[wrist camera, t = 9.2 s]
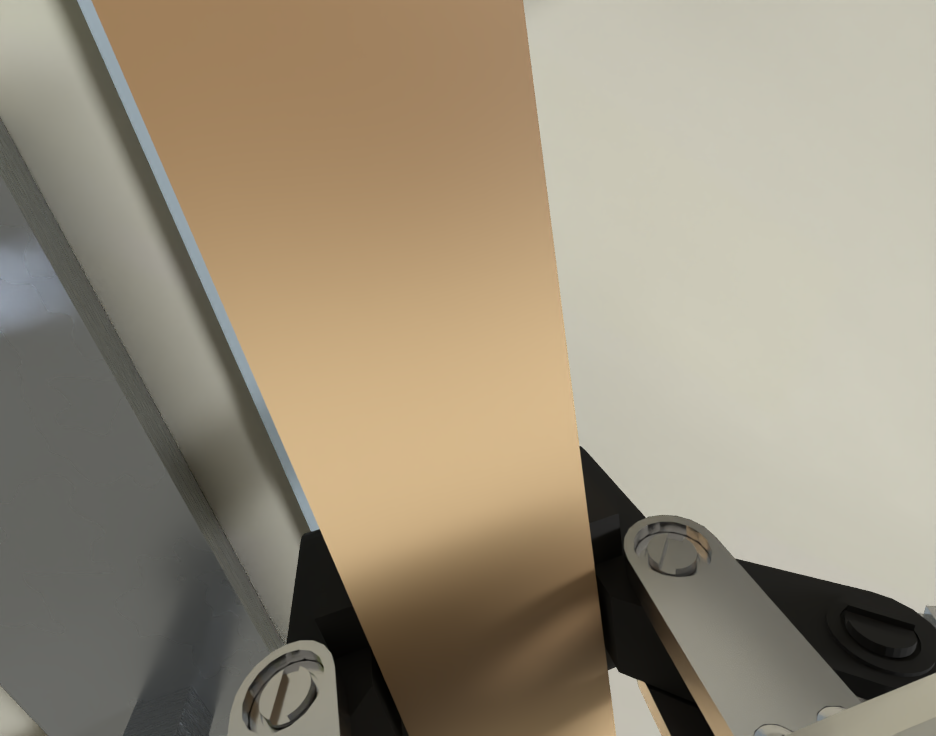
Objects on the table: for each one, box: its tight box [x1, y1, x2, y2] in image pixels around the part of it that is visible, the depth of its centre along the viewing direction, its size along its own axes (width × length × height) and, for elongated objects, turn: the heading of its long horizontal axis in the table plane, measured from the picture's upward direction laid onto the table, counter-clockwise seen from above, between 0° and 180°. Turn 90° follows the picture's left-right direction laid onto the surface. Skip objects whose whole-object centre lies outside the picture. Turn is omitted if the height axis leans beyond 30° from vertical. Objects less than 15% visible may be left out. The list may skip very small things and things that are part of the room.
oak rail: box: [91, 0, 616, 736], centre depth 8 cm, size 22×3×3 cm, turn 12°
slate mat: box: [77, 0, 320, 532], centre depth 16 cm, size 28×10×1 cm, turn 12°
